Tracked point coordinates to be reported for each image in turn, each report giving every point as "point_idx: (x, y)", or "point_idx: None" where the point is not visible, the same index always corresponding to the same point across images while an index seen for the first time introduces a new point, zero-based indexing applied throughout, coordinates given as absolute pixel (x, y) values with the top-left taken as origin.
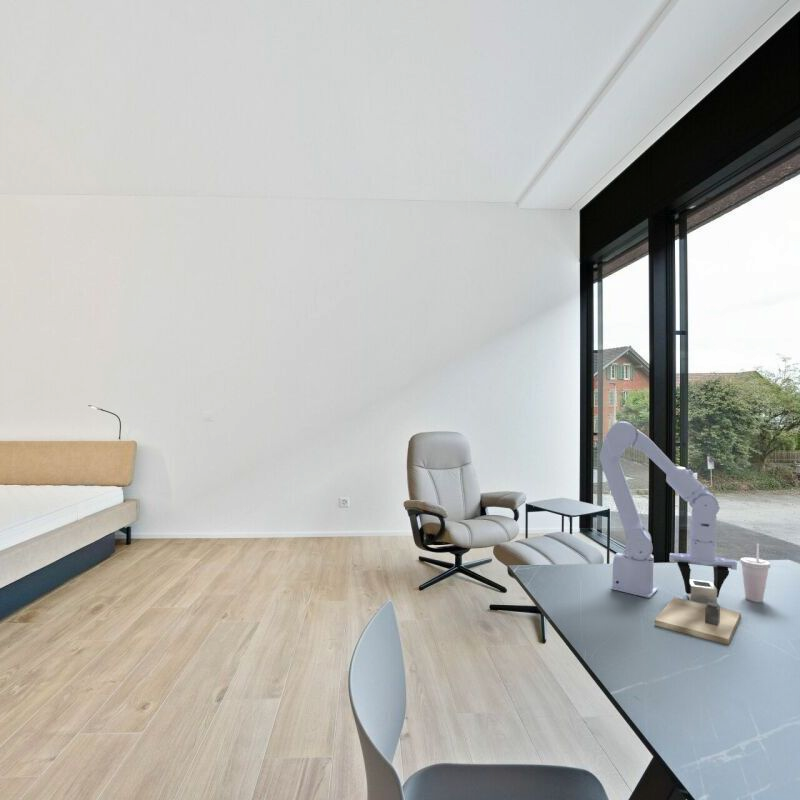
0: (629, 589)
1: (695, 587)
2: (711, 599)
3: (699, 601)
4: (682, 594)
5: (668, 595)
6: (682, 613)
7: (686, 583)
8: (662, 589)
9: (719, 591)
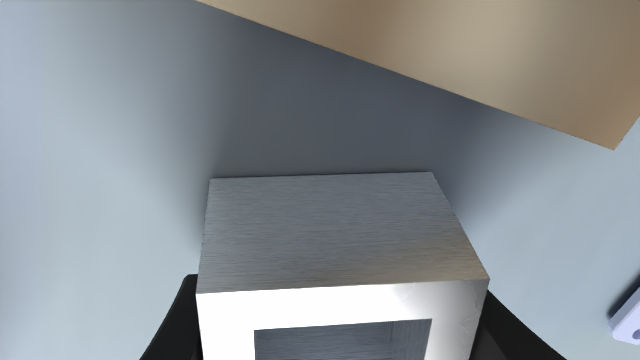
0: None
1: (439, 272)
2: (257, 208)
3: (362, 182)
4: None
5: (560, 260)
6: None
7: (518, 326)
8: None
9: (166, 315)
